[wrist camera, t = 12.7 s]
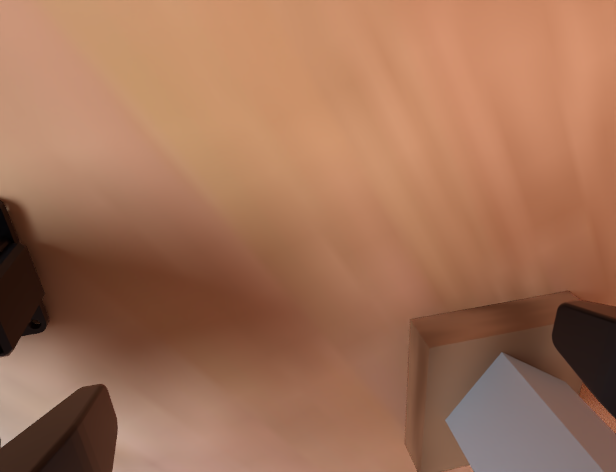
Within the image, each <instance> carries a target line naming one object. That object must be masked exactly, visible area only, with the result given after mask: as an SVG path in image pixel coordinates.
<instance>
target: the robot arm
mask: <svg viewBox="0 0 616 472" xmlns="http://www.w3.org/2000/svg"><path fill="white" fill-rule="evenodd" d="M44 295H45V293H44V290H43V288H42V285H41V283H40V280H39V277H38V275H37V272H36V270H35V267H34V265H33V262H32V259H31V257H30V254H29V252H28V249H27V247H26V246H25V245H23V244H22V243H20V242H19V240H18V237H17V234H16V232H15V229H14V227H13V224H12V222H11V219H10V217H9V214H8V211H7V209H6V207H5V205H4V204H3V202H1V201H0V357H4V356H9V355H10V354H11V352H12V351H13V350H14V348H15V346H16V345H17V343H18V341H19V339H20V338H21V336H26V335H31V334H37V333H41V332H43V331H44V330H45V329H46V327H47V325H48V323H49V316H48V314H47V311H46V309H45V306H44V304H43V301H42V299H43V297H44ZM31 320H37V321H39V322H40V324H35V323H33V322H32V321H31ZM552 342H553V344H554V347H555V348H556V350H557V351H558V352H559V353H560V355H561V356H562V357H563V358H564V359H565V361H566V362H567V363H568V364H569V366H570V367H571V368H572V369H573V371H574V372H575V373H576V374H577V375H578V377H579V378H580V379H581V380H582V382H583V383H584V384H585V385H586V387H587V388H588V389H589V390H590V391H591V393H592V394H593V395H594V396H595V397H596V399H597V400H598V401H599V402H600V403H601V404H602V405H603V406H604V407H605V408H606V409H607V411H608V412H609V413H610V414H611V415H612V416H613V417H614V418H615V419H616V307H615V306H609V305H604V304H599V303H593V302H588V301H582V300H575V301H569V302H563V303H561V304H560V305H559V306H558V308H557V312H556V316H555V321H554V325H553V330H552ZM117 431H118V425H117V417H116V414H115V411H114V408H113V405H112V402H111V399H110V396H109V392H108V390H107V388H106V386H105V385H103V384H97V385H91V386H86V387H82V388H80V389H78V390H77V391H75V392H74V393H73V394H71V395H70V396H69V397H68V398H66V399H65V400H64V401H62V402H61V403H60V404H58V405H57V406H56V407H54V408H53V409H52V410H50V411H49V412H48V413H47V414H45V415H44V416H43V417H41V418H40V419H39V420H37V421H36V422H35V423H33V424H32V425H31V426H29V427H28V428H27V429H26V430H24V431H23V432H22V433H20V434H19V435H18V436H16V437H15V438H14V439H12V440H11V441H10V442H8V443H7V444H6V445H4V446H3V447H2V448H1V447H0V472H112V469H113V462H114V454H115V447H116V439H117ZM0 445H1V439H0Z"/></svg>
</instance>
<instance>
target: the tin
mask: <svg viewBox="0 0 616 472" xmlns="http://www.w3.org/2000/svg"><path fill="white" fill-rule="evenodd" d="M445 421H446V423H447V424H448V426H449V428H450V430H451V432H452V433H453V435H454V437H455V439H456V441H457V442H458V444H459V446H460V448H461V450H462V451H463V453H464V455H465V457H466V459H467V460H468V462H469V464H470V466H471V467H472V469H473V471H474V472H616V434H615V433H614V432H613V431H612V430H611V428H610V427H609V426H608V425H607V424H606V423H605V422H604V421H603V420H602V419H601V418H600V417H599V416H598V415H597V414H596V413H595V412H594V411H593V410H592V409H591V408H590V407H589V406H588V405H587V404H586V403H585V402H584V401H583V399H582V398H581V397H580V396H579V395H578V394H577V393H576V392H575V391H574V390H573V389H572V388H571V387H570V386H569V385H568V384H567V383H566V382H565V381H562V380H560V379H558V378H556V377H554V376H552V375H550V374H548V373H545V372H543V371H541V370H539V369H537V368H535V367H533V366H530V365H528V364H526V363H524V362H522V361H520V360H518V359H516V358H513V357H511V356H509V355H507V354H505V353H503V352H501V354H500V355H499V356H498V357H497V358H496V360H495V361H494V362H493V363H492V364H491V366H490V367H489V368H488V369H487V370H486V372H485V373H484V374H483V375H482V376H481V378H480V379H479V380H478V381H477V382H476V384H475V385H474V386H473V387H472V388H471V389H470V391H469V392H468V393H467V394H466V395H465V397H464V398H463V399H462V400H461V402H460V403H459V404H458V405H457V406H456V408H455V409H454V410H453V411H452V412H451V414H450V415H449V416H448V417H447V418H446V420H445Z"/></svg>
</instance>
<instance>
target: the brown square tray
mask: <svg viewBox="0 0 616 472" xmlns="http://www.w3.org/2000/svg"><path fill="white" fill-rule="evenodd" d="M575 300H580V299H579V298H577V297H576V296H575V295H573V294H572V293H571V292H569V291H565V292H559V293H554V294H548V295H543V296H537V297H532V298H526V299H521V300H515V301H510V302H504V303H498V304H493V305H487V306H482V307H476V308H471V309H465V310H460V311H454V312H449V313H443V314H437V315H432V316H426V317H421V318H415V319H410V333H409V355H408V378H407V400H406V423H405V446H406V448H407V450H408V452H409V454H410V456H411V458H412V460H413V463H414V465H415V467H416V469H417V471H418V472H443V471H447V470H451V469H456V468H460V467H464V466H468V465H470V464H469V462H468V460H467V459H466V457H465V455H464V453H463V451H462V450H461V448H460V446H459V444H458V442H457V441H456V439H455V437H454V435H453V433H452V432H451V430H450V428H449V426H448V424H447V423H446V421H445V420H446V418H447V417H448V416H449V415H450V414H451V412H452V411H453V410H454V409H455V408H456V406H457V405H458V404H459V403H460V402H461V400H462V399H463V398H464V397H465V395H466V394H467V393H468V392H469V391H470V389H471V388H472V387H473V386H474V385H475V384H476V382H477V381H478V380H479V379H480V378H481V376H482V375H483V374H484V373H485V372H486V370H487V369H488V368H489V367H490V366H491V364H492V363H493V362H494V361H495V360H496V358H497V357H498V356H499V355H500V354H501V352H503V353H505V354H507V355H509V356H511V357H513V358H516V359H518V360H520V361H522V362H524V363H526V364H528V365H530V366H533V367H535V368H537V369H539V370H541V371H543V372H545V373H548V374H550V375H552V376H554V377H556V378H558V379H560V380H562V381H565V382H566V383H567V384H568V385H569V386H570V387H571V388H572V389H573V390H574V391H575V392H576V393H577V394H578V395H579V394H580V390H581V386H582V383H583V382H582V380H581V379H580V378H579V377H578V375H577V374H576V373H575V372H574V371H573V369H572V368H571V367H570V366H569V364H568V363H567V362H566V361H565V359H564V358H563V357H562V356H561V355H560V353H559V352H558V351H557V350H556V348H555V347H554V344H553V342H552V330H553V325H554V321H555V316H556V312H557V308H558V306H559V305H560V304H561V303H563V302H569V301H575Z"/></svg>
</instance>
